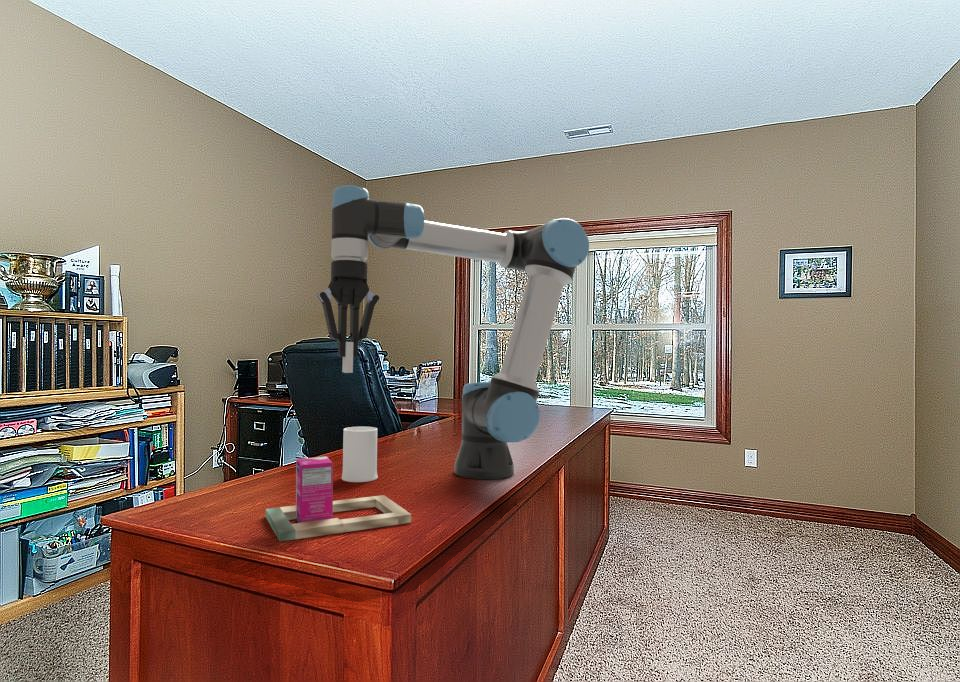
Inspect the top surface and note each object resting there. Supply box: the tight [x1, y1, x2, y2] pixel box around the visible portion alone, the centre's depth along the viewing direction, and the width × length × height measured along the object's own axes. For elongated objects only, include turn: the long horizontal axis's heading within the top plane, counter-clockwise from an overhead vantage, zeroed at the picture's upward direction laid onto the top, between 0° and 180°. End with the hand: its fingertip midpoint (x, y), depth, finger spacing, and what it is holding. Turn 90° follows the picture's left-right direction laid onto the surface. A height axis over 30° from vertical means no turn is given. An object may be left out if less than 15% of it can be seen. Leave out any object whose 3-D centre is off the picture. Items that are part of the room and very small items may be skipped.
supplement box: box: [295, 456, 334, 523], centre depth 104 cm, size 6×6×12 cm
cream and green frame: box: [265, 494, 412, 542], centre depth 106 cm, size 23×15×2 cm, turn 119°
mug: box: [341, 426, 379, 483], centre depth 141 cm, size 12×8×12 cm
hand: (347, 372), depth 121 cm, fingers closed
